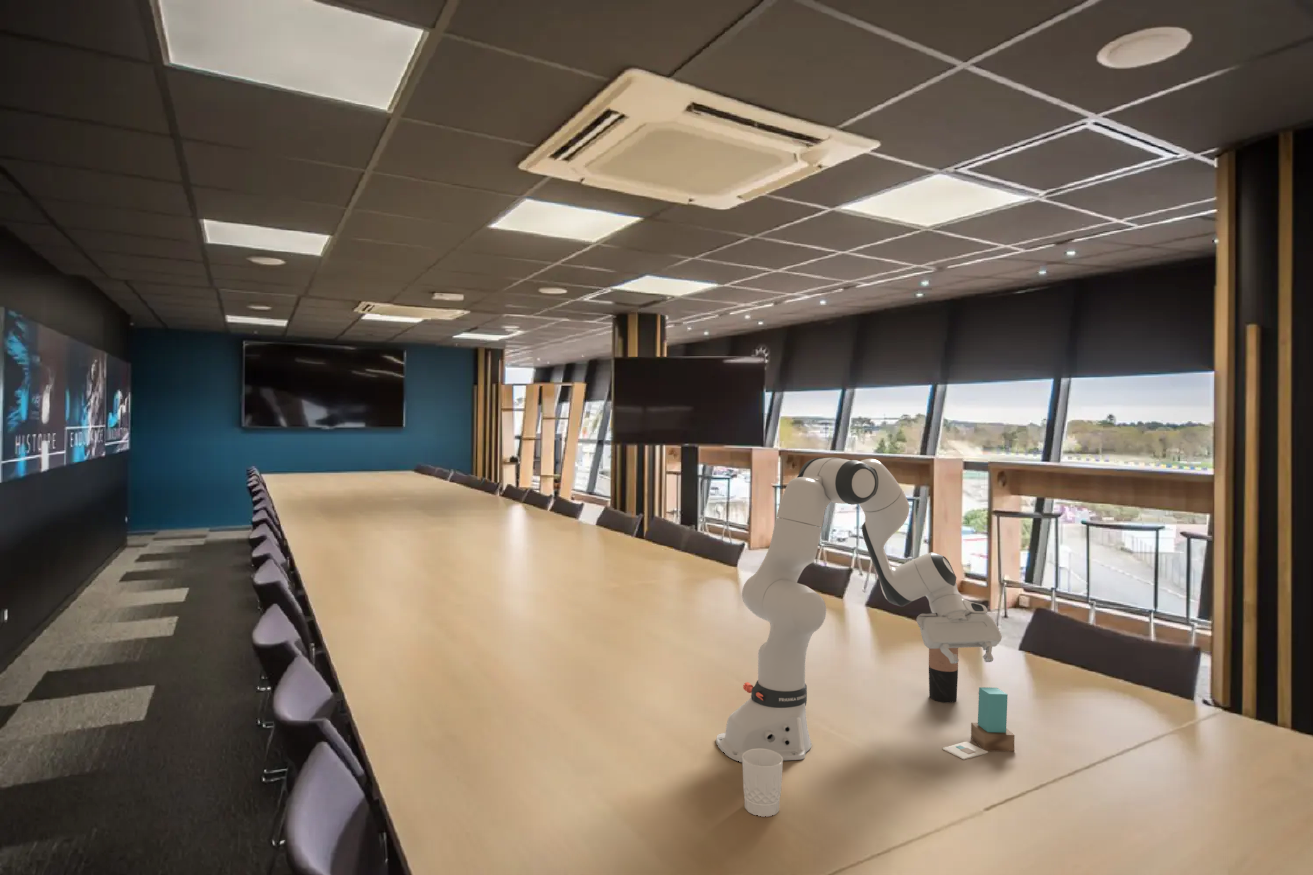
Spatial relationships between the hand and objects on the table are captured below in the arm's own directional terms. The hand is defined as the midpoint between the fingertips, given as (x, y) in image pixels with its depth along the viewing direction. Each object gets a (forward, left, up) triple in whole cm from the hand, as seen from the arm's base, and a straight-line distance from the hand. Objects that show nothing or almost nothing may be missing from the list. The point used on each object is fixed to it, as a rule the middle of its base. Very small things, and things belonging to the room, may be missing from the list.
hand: (972, 661), depth 176 cm
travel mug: (+9, +20, -17) cm, 28 cm away
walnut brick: (-1, -8, -17) cm, 19 cm away
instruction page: (-10, -9, -17) cm, 22 cm away
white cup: (-67, -17, -17) cm, 72 cm away
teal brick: (-2, -8, -13) cm, 16 cm away
